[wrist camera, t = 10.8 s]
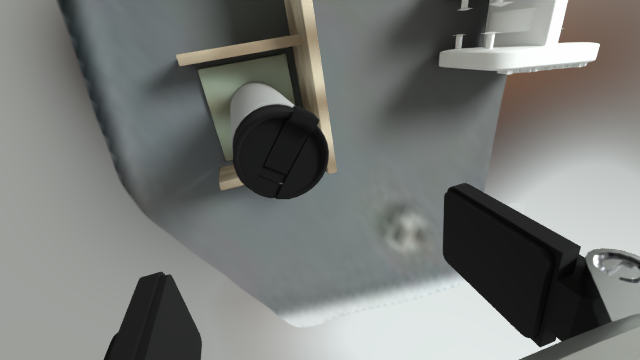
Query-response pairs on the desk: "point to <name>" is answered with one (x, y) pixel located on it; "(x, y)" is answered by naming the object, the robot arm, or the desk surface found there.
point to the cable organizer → (520, 40)
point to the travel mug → (275, 143)
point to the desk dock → (266, 79)
